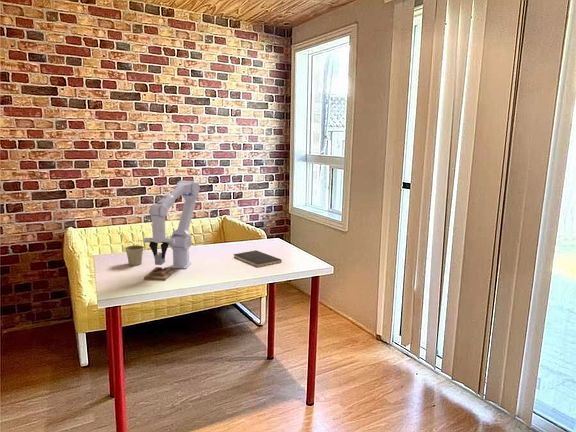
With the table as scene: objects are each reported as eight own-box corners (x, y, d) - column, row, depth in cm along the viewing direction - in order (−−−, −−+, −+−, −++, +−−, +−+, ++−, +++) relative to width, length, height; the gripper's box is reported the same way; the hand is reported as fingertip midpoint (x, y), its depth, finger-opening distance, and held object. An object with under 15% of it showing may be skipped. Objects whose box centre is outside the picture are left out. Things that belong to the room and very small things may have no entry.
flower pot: (130, 267, 206) (129, 250, 204) (122, 263, 212) (121, 247, 210) (148, 264, 212) (147, 247, 211) (139, 260, 219) (138, 244, 217)
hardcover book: (257, 268, 212) (257, 263, 212) (233, 258, 229) (233, 254, 229) (281, 263, 222) (281, 259, 222) (256, 253, 240) (256, 250, 239)
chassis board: (155, 270, 203) (155, 265, 202) (175, 271, 202) (175, 266, 202) (144, 279, 189) (143, 274, 188) (165, 280, 188) (165, 275, 188)
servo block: (158, 261, 197) (158, 250, 196) (165, 261, 197) (164, 250, 196) (154, 264, 192) (154, 253, 191) (161, 265, 192) (160, 253, 191)
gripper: (140, 230, 188) (141, 259, 190) (171, 232, 187) (172, 260, 190) (146, 227, 195) (147, 255, 197) (176, 228, 194) (176, 256, 197)
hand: (159, 257), depth 194 cm, fingers closed on servo block, 3 cm apart
